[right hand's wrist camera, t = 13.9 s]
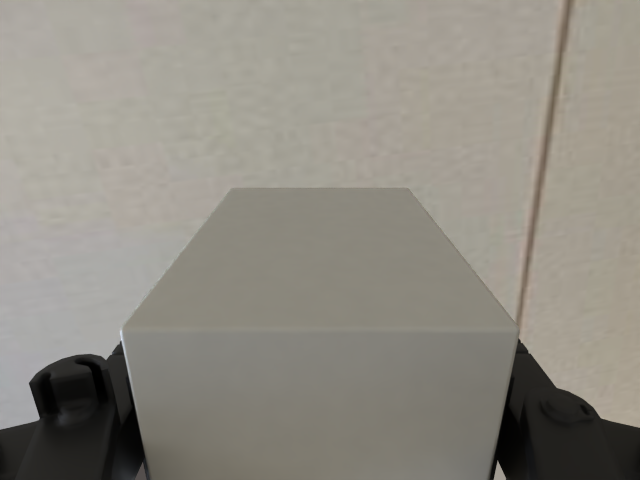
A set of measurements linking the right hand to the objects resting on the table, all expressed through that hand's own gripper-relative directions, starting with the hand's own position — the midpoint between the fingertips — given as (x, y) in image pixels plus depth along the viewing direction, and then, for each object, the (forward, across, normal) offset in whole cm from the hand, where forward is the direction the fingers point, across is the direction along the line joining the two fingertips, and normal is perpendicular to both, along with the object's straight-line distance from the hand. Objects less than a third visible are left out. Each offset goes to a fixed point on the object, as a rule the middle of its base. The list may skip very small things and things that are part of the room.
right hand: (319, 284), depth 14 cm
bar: (+1, 0, -8) cm, 8 cm away
